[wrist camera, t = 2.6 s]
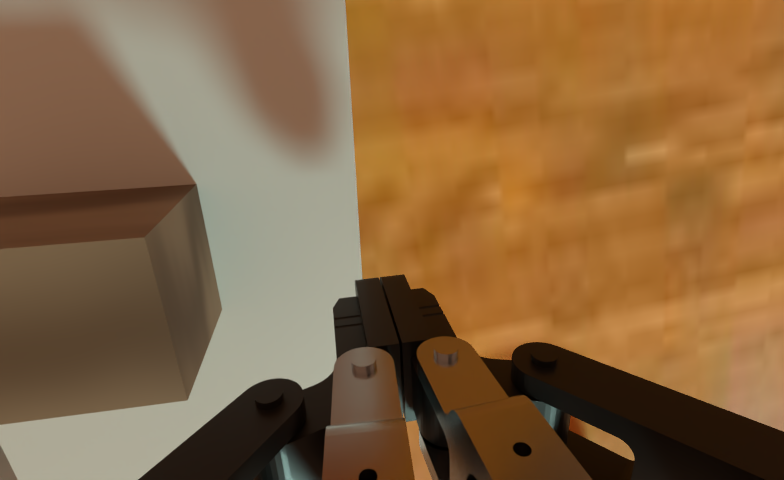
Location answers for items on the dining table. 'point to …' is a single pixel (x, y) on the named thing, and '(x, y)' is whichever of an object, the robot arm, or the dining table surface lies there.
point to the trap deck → (186, 167)
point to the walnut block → (102, 300)
